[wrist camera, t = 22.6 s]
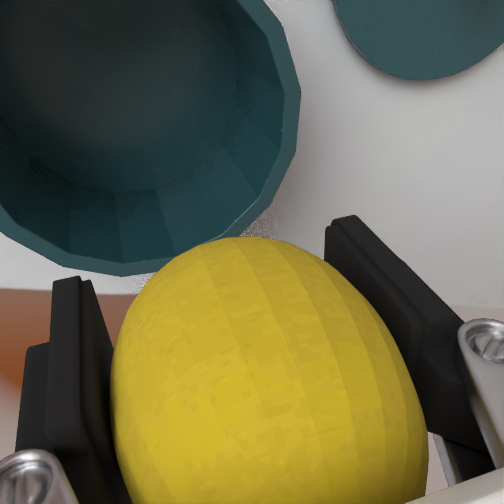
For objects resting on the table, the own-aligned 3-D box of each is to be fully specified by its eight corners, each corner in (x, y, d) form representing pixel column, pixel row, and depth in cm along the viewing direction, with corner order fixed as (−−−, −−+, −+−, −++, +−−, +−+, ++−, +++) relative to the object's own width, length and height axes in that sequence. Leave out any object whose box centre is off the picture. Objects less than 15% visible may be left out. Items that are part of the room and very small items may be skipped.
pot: (159, -202, 21) (200, -266, 14) (287, 171, 33) (342, 233, 26) (-149, -64, 20) (-259, -61, 14) (98, 264, 32) (105, 351, 26)
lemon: (190, 379, 14) (282, 732, 8) (48, 273, 11) (13, 739, 5) (339, 272, 14) (564, 561, 7) (238, 128, 10) (491, 430, 4)
